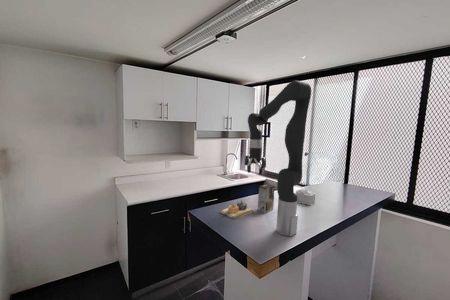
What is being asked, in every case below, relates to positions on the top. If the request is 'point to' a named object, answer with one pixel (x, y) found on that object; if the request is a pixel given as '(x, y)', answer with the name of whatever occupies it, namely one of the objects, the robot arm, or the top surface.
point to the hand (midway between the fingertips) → (254, 173)
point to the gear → (233, 209)
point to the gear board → (242, 211)
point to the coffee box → (266, 198)
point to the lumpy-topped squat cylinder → (305, 196)
